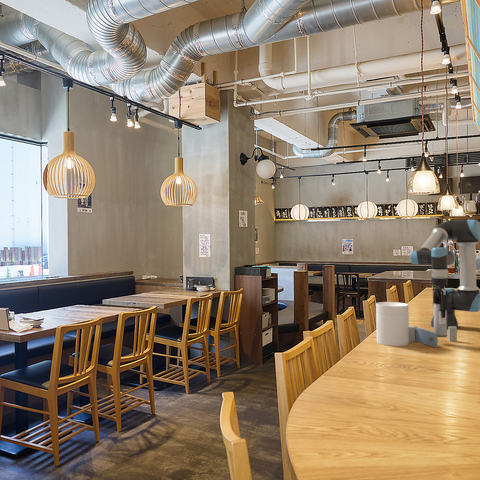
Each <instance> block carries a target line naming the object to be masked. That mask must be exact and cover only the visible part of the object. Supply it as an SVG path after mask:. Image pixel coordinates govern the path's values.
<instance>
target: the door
mask: <svg viewBox="0 0 480 480" xmlns="http://www.w3.org/2000/svg"><path fill="white" fill-rule="evenodd" d="M413 327H414V342H418V343H421V344H424V345H426V346H430V347H433V348H438V337H437V333H435V332H434V331H431V330H427V329H425V328H421V327H418V326H417V325H415V326H413Z"/></svg>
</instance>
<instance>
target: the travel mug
mask: <svg viewBox="0 0 480 480" xmlns="http://www.w3.org/2000/svg"><path fill="white" fill-rule="evenodd" d="M433 299H434V303H433V302H432V307H433V306H434V307H433V315H434V327H433V332H435V333H437V338H447V337H448V329H447V310H446V324H440V312H439V310H440V303H439V298H436V297H433V296H432V300H433ZM433 304H434V305H433Z"/></svg>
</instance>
